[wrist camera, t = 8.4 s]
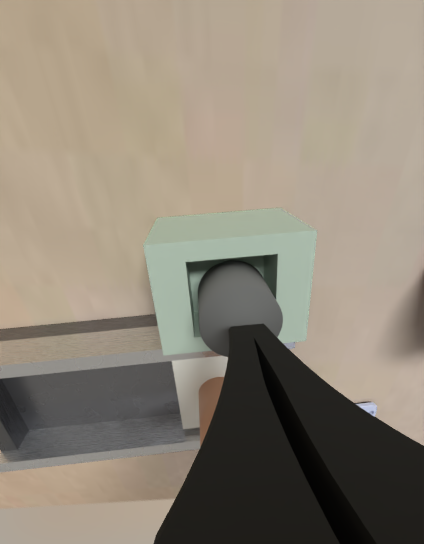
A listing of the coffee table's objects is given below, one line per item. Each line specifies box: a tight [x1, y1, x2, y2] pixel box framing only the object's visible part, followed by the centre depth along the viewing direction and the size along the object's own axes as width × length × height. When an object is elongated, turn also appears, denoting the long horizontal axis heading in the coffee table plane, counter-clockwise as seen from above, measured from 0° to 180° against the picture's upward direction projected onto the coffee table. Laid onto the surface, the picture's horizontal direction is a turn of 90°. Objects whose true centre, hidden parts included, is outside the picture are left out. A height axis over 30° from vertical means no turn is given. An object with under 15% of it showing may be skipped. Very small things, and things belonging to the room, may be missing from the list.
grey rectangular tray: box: [0, 314, 295, 472], centre depth 20 cm, size 10×22×4 cm, turn 94°
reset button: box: [198, 260, 283, 357], centre depth 13 cm, size 4×4×3 cm
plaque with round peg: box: [172, 356, 228, 447], centre depth 18 cm, size 7×6×6 cm
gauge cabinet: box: [143, 208, 317, 356], centre depth 16 cm, size 6×8×6 cm
